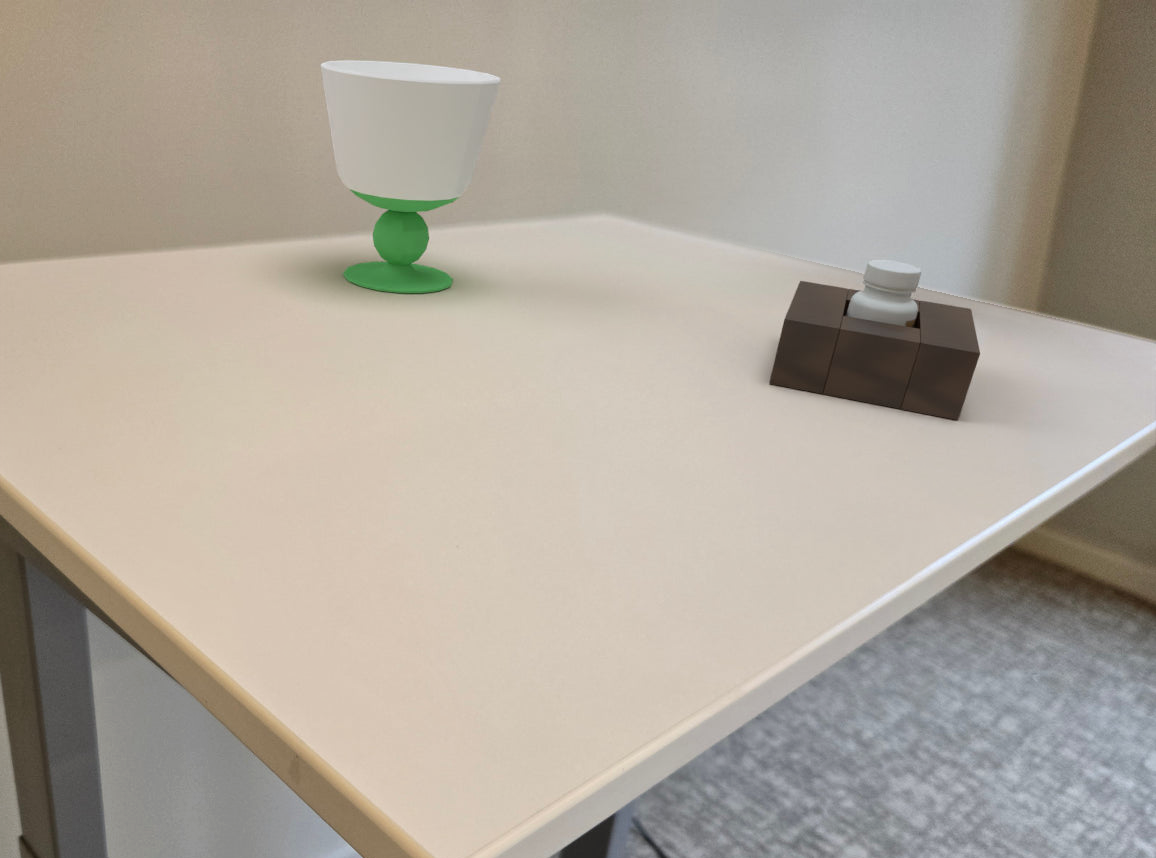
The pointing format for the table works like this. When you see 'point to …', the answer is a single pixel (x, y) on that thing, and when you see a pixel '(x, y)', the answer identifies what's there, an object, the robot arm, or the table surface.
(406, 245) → the cup
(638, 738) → the table surface
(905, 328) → the holder
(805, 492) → the table surface
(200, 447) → the table surface
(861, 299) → the pill bottle
